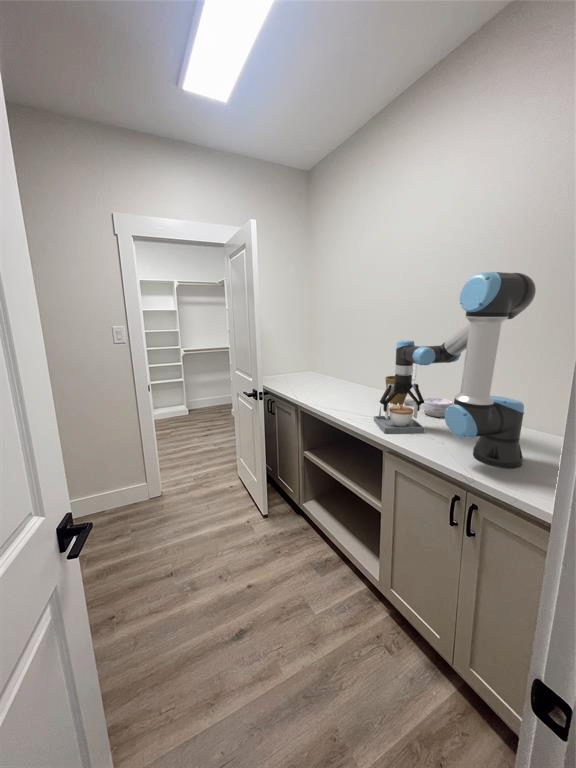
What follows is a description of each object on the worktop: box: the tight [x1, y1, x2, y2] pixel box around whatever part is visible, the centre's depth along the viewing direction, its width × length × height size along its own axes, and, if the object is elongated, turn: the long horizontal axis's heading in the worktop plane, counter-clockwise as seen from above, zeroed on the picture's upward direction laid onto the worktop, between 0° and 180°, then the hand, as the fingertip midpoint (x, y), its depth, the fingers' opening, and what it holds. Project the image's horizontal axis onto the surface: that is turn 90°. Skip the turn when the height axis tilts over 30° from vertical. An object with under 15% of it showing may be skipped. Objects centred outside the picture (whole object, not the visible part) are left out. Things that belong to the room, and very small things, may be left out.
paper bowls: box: [420, 397, 454, 418], centre depth 166 cm, size 15×15×8 cm
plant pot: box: [384, 375, 409, 406], centre depth 187 cm, size 15×15×16 cm
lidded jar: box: [388, 404, 414, 427], centre depth 147 cm, size 11×11×9 cm
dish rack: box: [373, 402, 425, 435], centre depth 148 cm, size 18×18×9 cm
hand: (400, 417), depth 147 cm, fingers open, 13 cm apart
